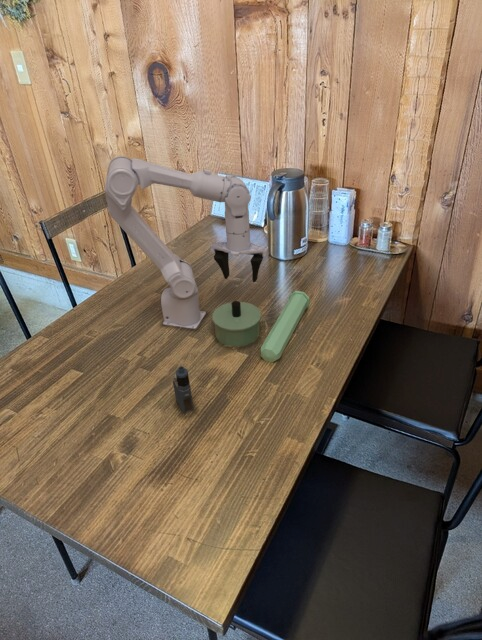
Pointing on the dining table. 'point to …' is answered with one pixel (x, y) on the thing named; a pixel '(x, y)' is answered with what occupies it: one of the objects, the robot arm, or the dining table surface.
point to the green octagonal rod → (284, 326)
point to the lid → (236, 316)
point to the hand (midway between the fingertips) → (240, 278)
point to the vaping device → (183, 390)
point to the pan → (237, 336)
